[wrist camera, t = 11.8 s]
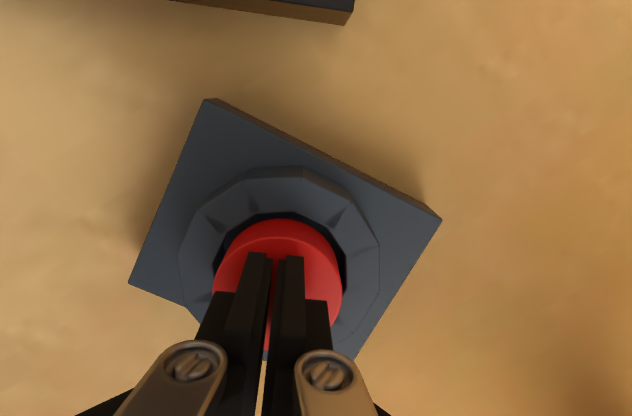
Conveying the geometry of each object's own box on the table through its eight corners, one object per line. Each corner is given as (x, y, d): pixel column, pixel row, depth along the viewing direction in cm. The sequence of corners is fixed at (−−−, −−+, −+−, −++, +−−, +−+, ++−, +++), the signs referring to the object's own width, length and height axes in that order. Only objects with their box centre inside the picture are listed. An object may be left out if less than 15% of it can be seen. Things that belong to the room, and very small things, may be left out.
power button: (205, 294, 13) (192, 323, 12) (252, 198, 12) (244, 214, 11) (306, 336, 14) (306, 369, 12) (358, 247, 13) (366, 270, 11)
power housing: (146, 262, 17) (100, 311, 13) (216, 97, 15) (186, 98, 11) (341, 344, 18) (351, 409, 15) (427, 205, 17) (465, 239, 13)
